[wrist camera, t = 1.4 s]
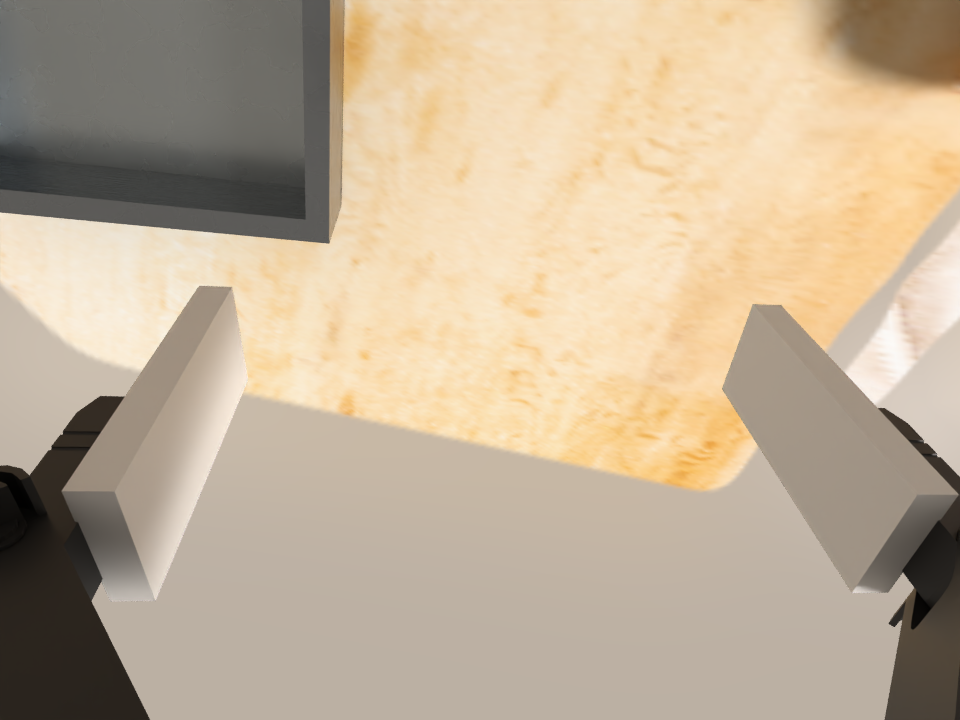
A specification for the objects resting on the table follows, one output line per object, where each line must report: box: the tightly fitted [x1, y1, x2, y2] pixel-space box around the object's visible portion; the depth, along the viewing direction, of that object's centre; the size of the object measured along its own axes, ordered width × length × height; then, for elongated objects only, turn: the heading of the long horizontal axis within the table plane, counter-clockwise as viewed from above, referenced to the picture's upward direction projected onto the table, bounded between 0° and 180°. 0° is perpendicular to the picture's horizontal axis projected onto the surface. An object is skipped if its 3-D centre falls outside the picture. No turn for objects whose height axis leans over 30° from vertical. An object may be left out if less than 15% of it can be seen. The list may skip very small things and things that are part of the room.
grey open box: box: [0, 0, 345, 243], centre depth 30 cm, size 20×15×6 cm
